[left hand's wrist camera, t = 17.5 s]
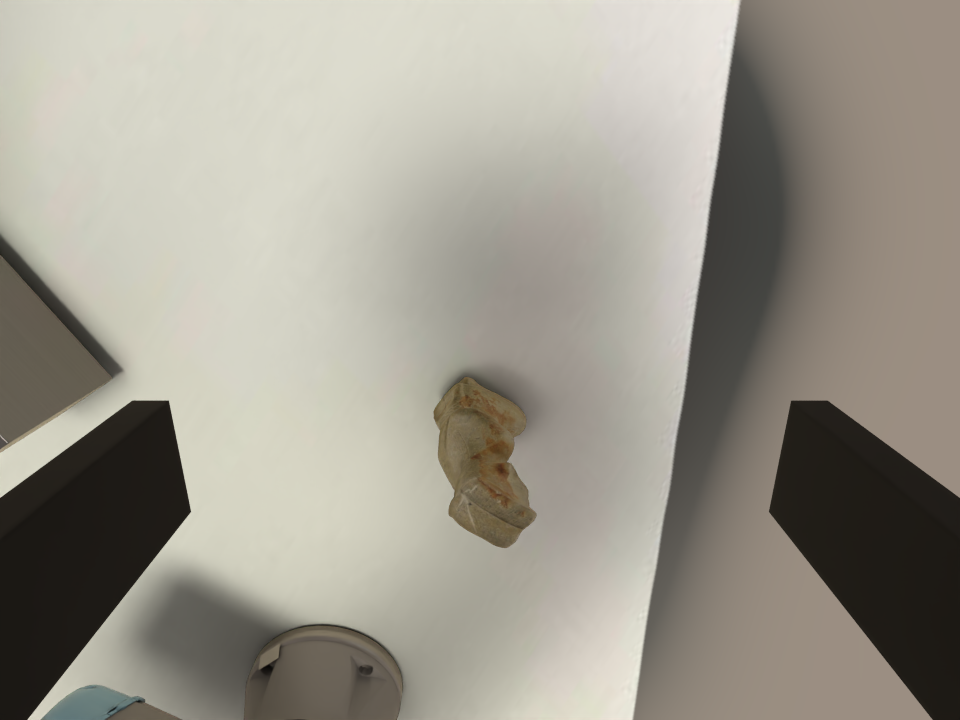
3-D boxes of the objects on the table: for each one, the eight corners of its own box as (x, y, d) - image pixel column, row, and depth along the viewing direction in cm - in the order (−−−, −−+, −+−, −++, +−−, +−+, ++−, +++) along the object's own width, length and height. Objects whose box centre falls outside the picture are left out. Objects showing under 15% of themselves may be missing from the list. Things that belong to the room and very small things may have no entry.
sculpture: (490, 454, 51) (494, 574, 36) (425, 405, 49) (403, 510, 35) (535, 407, 49) (558, 514, 35) (469, 355, 47) (465, 444, 33)
